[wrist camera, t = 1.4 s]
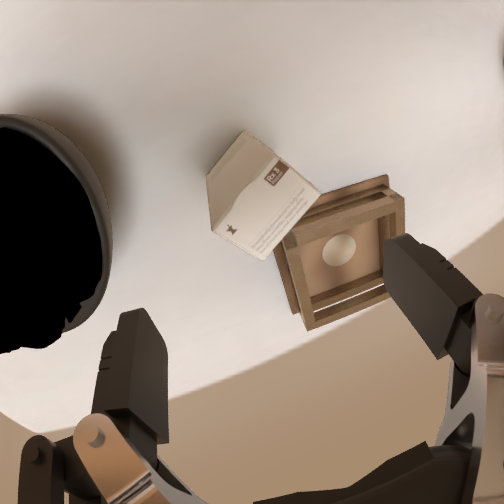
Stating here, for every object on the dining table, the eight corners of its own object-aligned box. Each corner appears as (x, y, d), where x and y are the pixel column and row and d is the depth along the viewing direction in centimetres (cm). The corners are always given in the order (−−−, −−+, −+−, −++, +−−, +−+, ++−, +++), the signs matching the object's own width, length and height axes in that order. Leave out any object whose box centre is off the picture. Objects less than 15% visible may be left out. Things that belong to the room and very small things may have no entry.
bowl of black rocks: (157, 255, 31) (140, 415, 16) (23, 287, 30) (-33, 407, 14) (105, 70, 21) (-31, 67, 5) (-37, 146, 19) (-150, 222, 3)
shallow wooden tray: (383, 183, 31) (404, 198, 27) (387, 273, 38) (402, 291, 35) (272, 220, 31) (283, 240, 28) (297, 308, 38) (307, 331, 35)
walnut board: (386, 174, 31) (388, 175, 31) (390, 273, 39) (392, 275, 39) (262, 214, 31) (263, 216, 31) (291, 312, 39) (293, 314, 39)
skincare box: (238, 200, 30) (264, 269, 20) (202, 175, 28) (207, 235, 18) (278, 152, 28) (328, 198, 18) (242, 124, 26) (274, 153, 16)
